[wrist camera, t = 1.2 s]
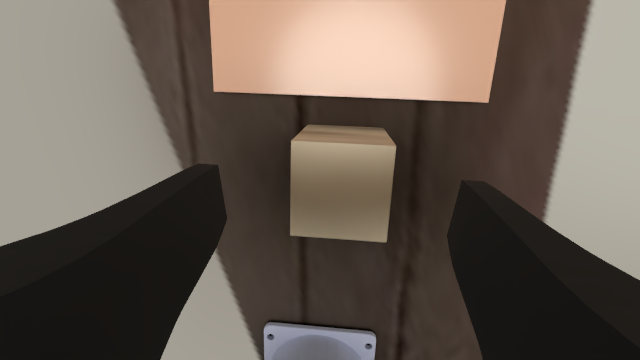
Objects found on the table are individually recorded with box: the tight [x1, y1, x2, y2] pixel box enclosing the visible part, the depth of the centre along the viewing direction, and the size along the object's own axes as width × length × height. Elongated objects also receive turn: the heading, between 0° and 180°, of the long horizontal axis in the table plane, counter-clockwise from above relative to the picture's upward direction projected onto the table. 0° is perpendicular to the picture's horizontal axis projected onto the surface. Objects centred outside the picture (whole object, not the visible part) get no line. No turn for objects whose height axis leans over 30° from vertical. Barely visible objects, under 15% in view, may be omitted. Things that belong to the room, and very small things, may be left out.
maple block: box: [290, 124, 396, 242], centre depth 18 cm, size 4×4×6 cm
